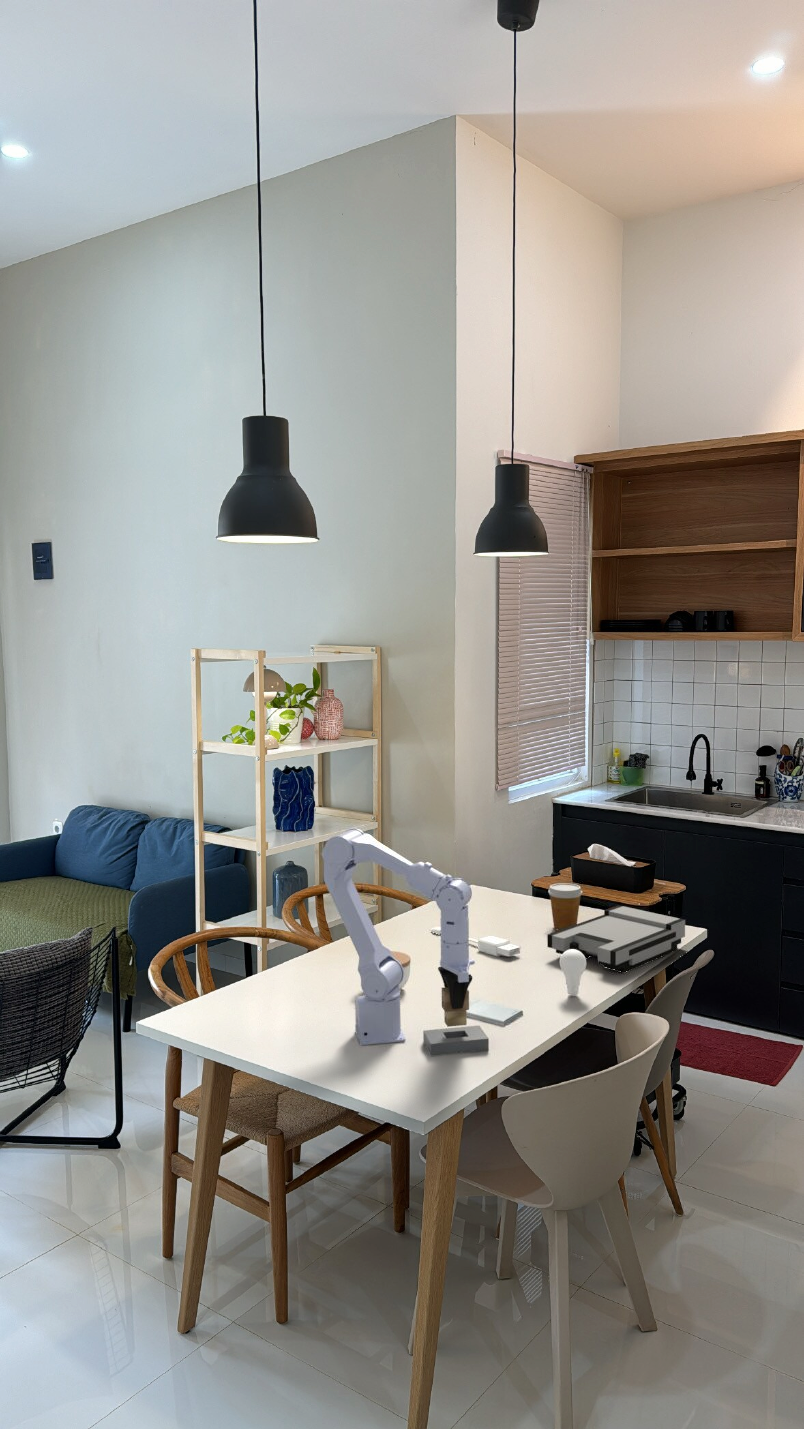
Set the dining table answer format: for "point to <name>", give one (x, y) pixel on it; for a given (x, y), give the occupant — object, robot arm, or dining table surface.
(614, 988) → the dining table surface
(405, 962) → the lidded jar
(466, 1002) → the walnut plug
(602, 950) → the game console
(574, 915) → the disposable coffee cup
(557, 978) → the dining table surface
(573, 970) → the lightbulb
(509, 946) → the charging cable
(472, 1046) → the block
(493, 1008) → the hard drive
